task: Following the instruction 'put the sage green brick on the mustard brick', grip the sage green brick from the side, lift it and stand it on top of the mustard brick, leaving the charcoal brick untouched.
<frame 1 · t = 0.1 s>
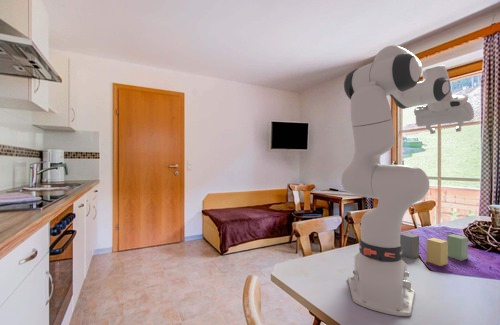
hand: (445, 132, 108), 54 cm above the table, tool tilted 30°, fingers open, 8 cm apart
sage green brick: (457, 257, 102), on the table
charcoal brick: (409, 256, 103), on the table
mustard brick: (436, 262, 96), on the table
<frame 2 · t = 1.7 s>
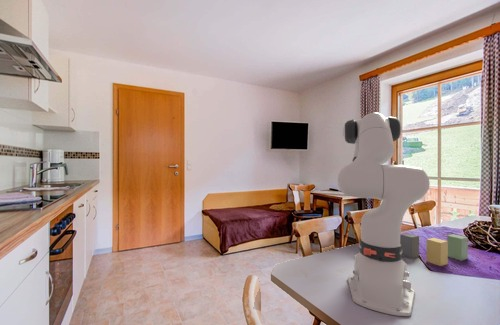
hand: (413, 196, 114), 24 cm above the table, tool horizontal, fingers open, 8 cm apart
nothing on the table moved.
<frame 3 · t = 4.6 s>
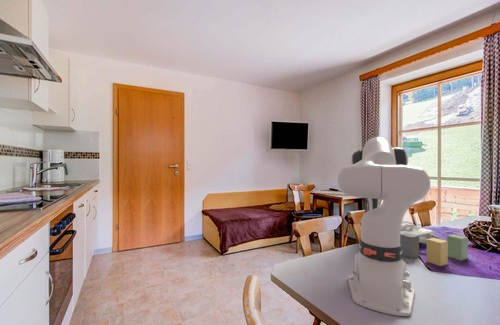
hand: (434, 240, 110), 5 cm above the table, tool horizontal, fingers open, 8 cm apart
nothing on the table moved.
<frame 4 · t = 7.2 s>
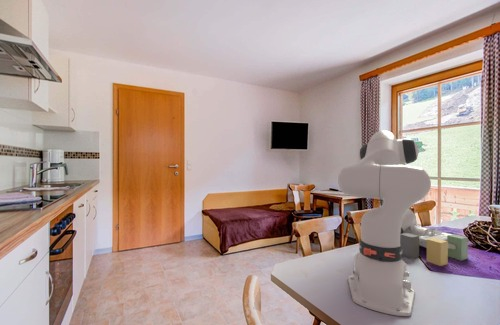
hand: (459, 246, 101), 5 cm above the table, tool horizontal, fingers closed on sage green brick, 5 cm apart
sage green brick: (457, 257, 102), on the table, touching gripper
everything else where it was.
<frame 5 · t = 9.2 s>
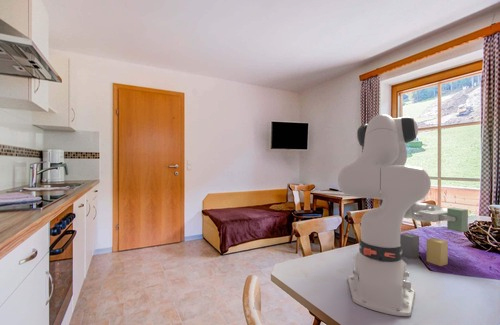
hand: (460, 218, 101), 17 cm above the table, tool horizontal, fingers closed on sage green brick, 5 cm apart
sage green brick: (457, 230, 102), point 12 cm above the table, touching gripper
everything else where it was.
when the fingers open (16 cm above the table, at t = 11.8 s): sage green brick drops 2 cm, resting on mustard brick.
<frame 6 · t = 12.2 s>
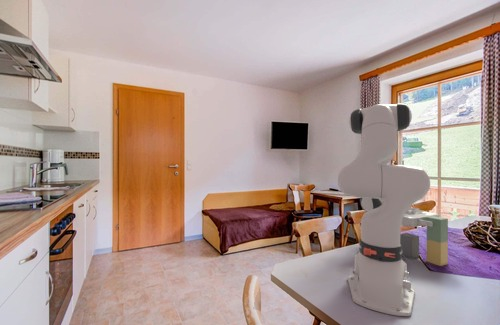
hand: (439, 223, 96), 16 cm above the table, tool horizontal, fingers open, 8 cm apart
sage green brick: (437, 240, 96), point 9 cm above the table, touching mustard brick
mustard brick: (436, 262, 96), on the table, touching sage green brick
everything else where it was.
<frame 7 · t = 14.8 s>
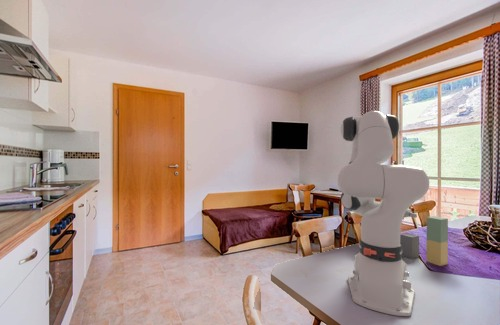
hand: (409, 216, 106), 16 cm above the table, tool horizontal, fingers open, 8 cm apart
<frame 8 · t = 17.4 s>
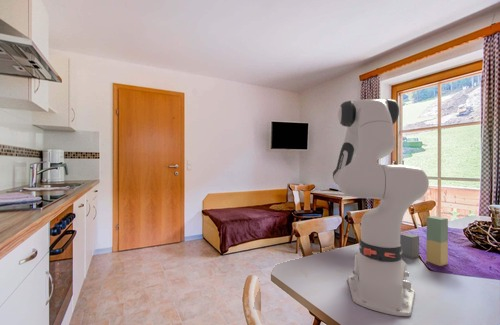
hand: (399, 184, 110), 30 cm above the table, tool horizontal, fingers open, 8 cm apart
at the end: sage green brick 0.0 cm off-centre on the mustard brick, point 9.0 cm above the mustard brick's base; sage green brick tilted 0°; charcoal brick moved 0.1 cm from its start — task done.
